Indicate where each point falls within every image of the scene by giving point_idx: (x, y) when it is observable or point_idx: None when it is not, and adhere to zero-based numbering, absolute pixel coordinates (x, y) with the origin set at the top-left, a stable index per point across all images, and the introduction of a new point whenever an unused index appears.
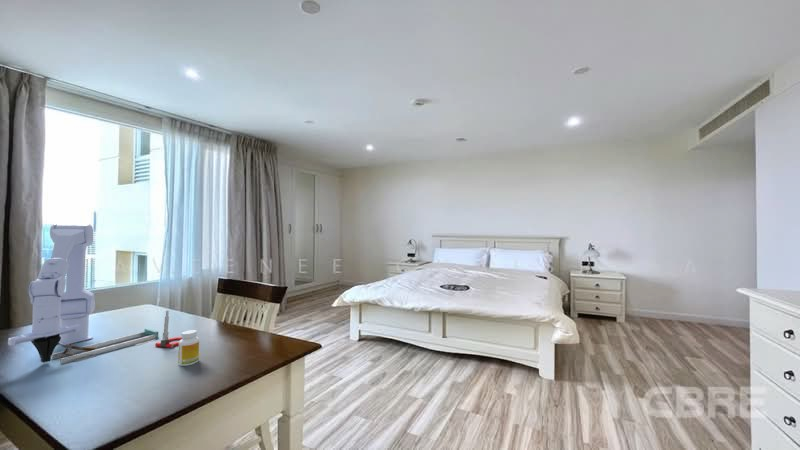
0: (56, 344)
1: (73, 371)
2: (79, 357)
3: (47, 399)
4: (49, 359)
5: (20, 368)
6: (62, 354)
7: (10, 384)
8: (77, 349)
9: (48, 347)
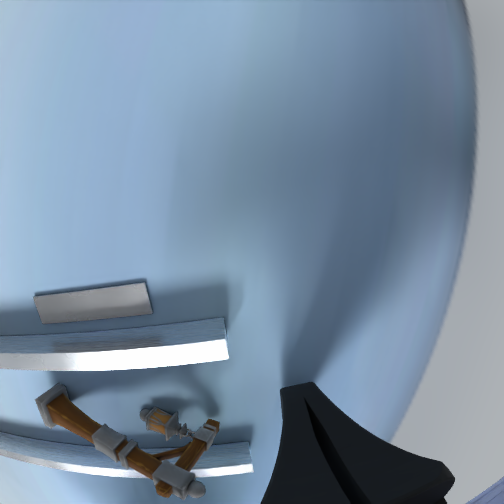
0: (274, 485)
1: (194, 36)
2: (116, 336)
3: None
4: (287, 393)
5: (378, 398)
6: (208, 436)
7: (467, 145)
8: (126, 441)
9: (325, 469)
